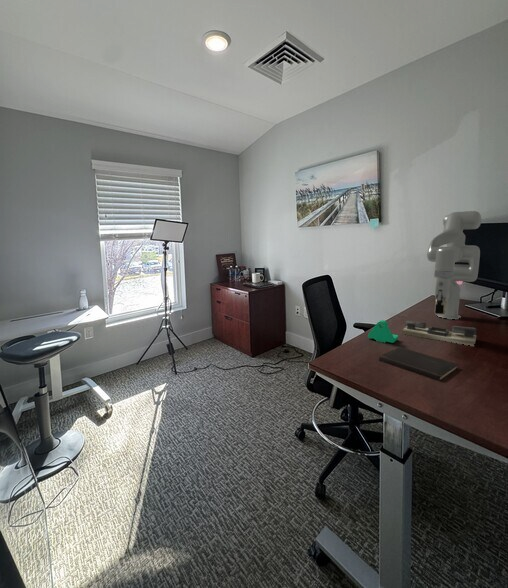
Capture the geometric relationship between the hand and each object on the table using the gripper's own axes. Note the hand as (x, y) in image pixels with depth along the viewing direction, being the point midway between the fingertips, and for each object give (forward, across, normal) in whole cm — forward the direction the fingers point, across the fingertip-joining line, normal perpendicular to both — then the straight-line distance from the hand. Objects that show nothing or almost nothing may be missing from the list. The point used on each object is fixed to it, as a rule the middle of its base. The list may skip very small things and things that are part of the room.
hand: (439, 311), depth 145 cm
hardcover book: (+14, -40, +1) cm, 42 cm away
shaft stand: (+13, 0, 0) cm, 13 cm away
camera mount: (+13, -19, +20) cm, 31 cm away
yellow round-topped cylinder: (+1, 0, 0) cm, 1 cm away
